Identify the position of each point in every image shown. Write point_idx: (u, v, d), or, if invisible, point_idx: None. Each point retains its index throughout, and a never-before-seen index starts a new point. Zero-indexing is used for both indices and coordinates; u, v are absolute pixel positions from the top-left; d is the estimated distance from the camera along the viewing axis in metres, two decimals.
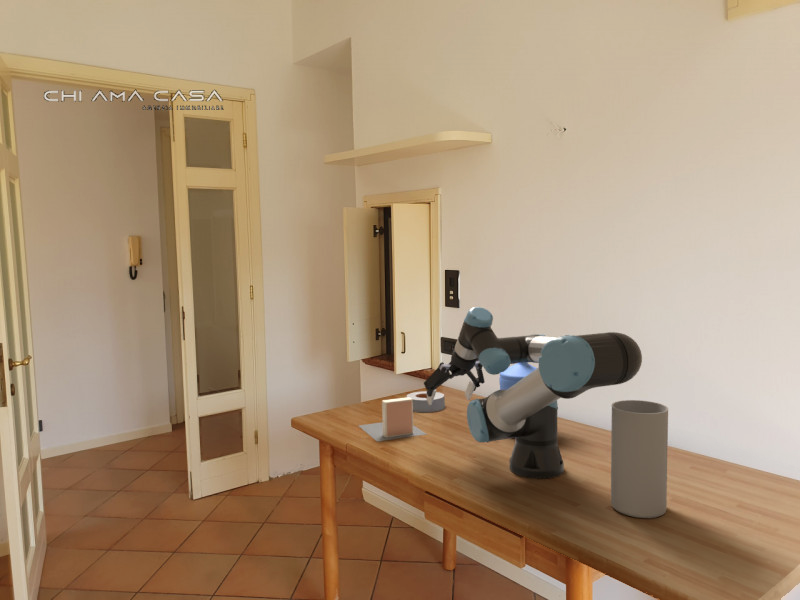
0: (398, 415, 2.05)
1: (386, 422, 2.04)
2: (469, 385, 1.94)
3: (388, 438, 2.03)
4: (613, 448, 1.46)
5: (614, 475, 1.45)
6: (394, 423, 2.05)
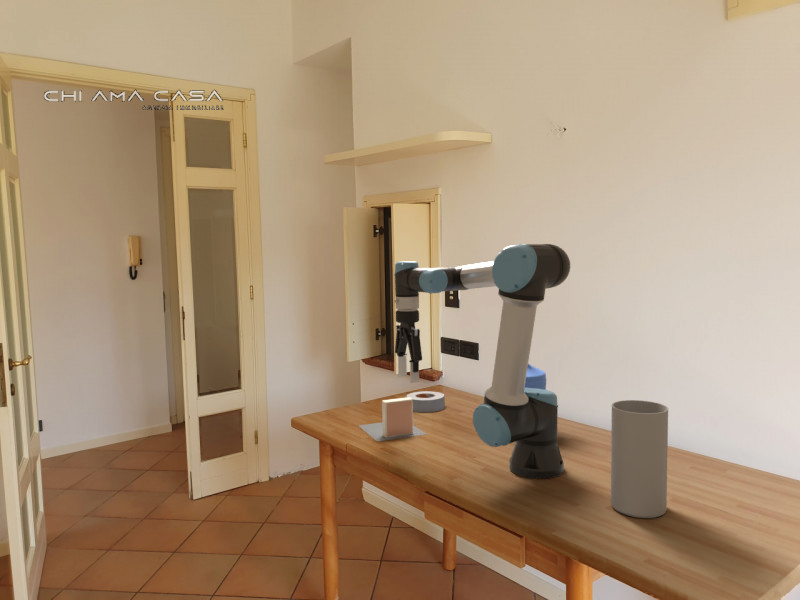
0: (398, 415, 2.05)
1: (386, 422, 2.04)
2: (401, 361, 2.00)
3: (388, 438, 2.03)
4: (613, 448, 1.46)
5: (614, 475, 1.45)
6: (394, 423, 2.05)
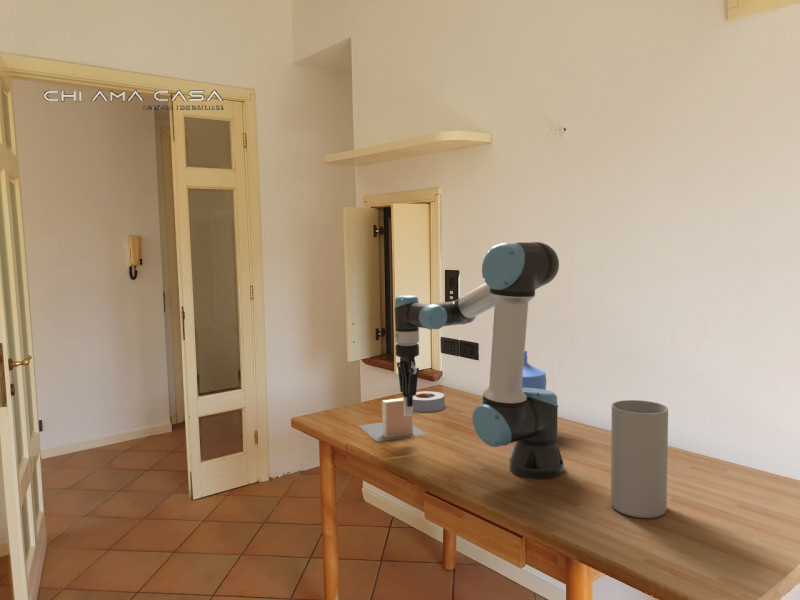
0: (398, 415, 2.05)
1: (386, 422, 2.04)
2: None
3: (388, 438, 2.03)
4: (613, 448, 1.46)
5: (614, 475, 1.45)
6: (394, 423, 2.05)
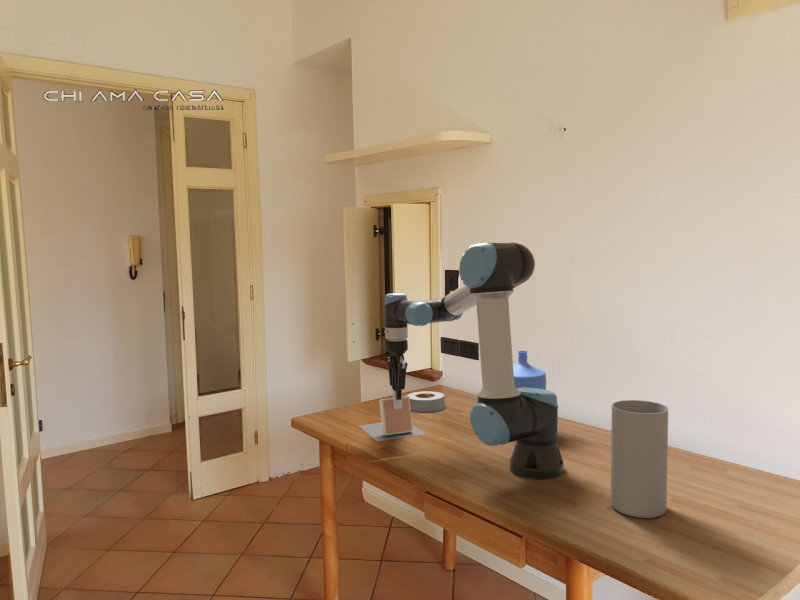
0: (396, 412, 2.07)
1: (384, 419, 2.05)
2: None
3: (388, 438, 2.03)
4: (613, 448, 1.46)
5: (614, 475, 1.45)
6: (393, 420, 2.06)
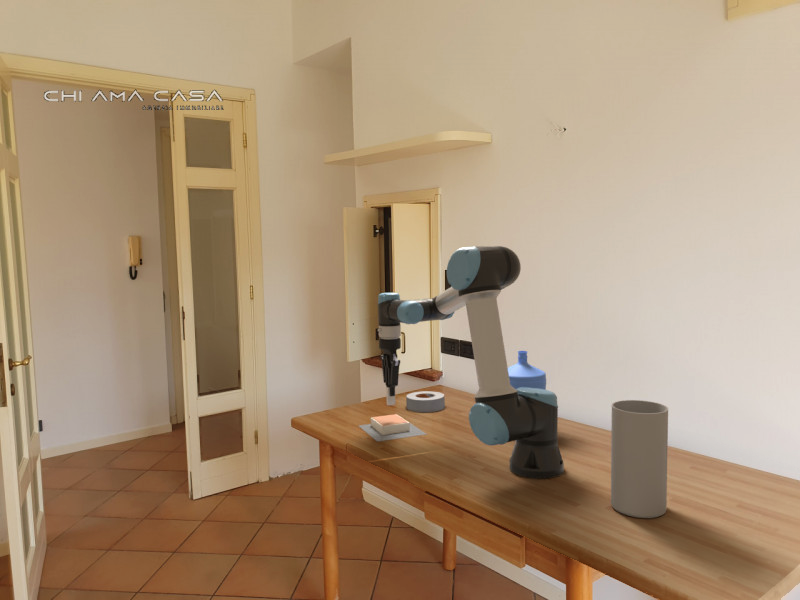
0: (387, 418, 2.15)
1: (378, 422, 2.12)
2: None
3: (388, 438, 2.03)
4: (613, 448, 1.46)
5: (614, 475, 1.45)
6: (386, 421, 2.12)
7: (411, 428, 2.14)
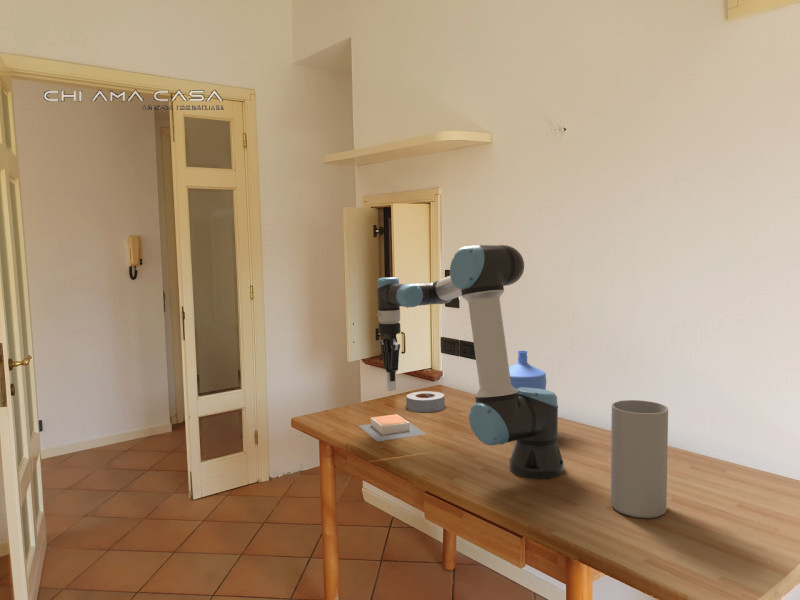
0: (387, 418, 2.15)
1: (378, 422, 2.12)
2: None
3: (388, 438, 2.03)
4: (613, 448, 1.46)
5: (614, 475, 1.45)
6: (386, 421, 2.12)
7: (411, 428, 2.14)
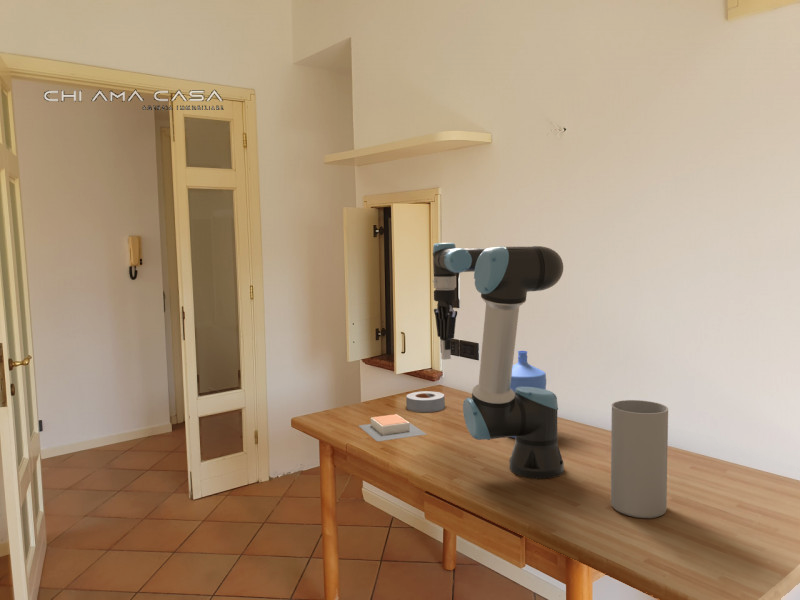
0: (387, 418, 2.15)
1: (378, 422, 2.12)
2: None
3: (388, 438, 2.03)
4: (613, 448, 1.46)
5: (614, 475, 1.45)
6: (386, 421, 2.12)
7: (411, 428, 2.14)
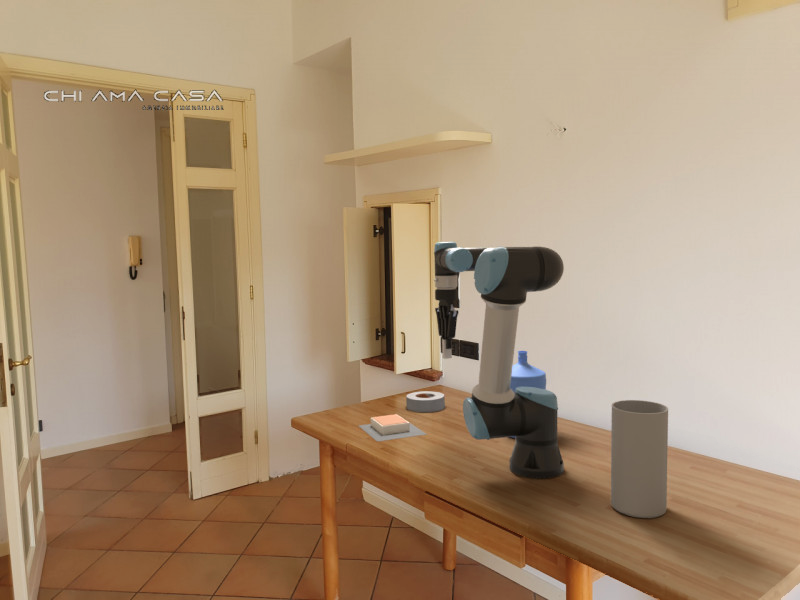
0: (387, 418, 2.15)
1: (378, 422, 2.12)
2: None
3: (388, 438, 2.03)
4: (613, 448, 1.46)
5: (614, 475, 1.45)
6: (386, 421, 2.12)
7: (411, 428, 2.14)
